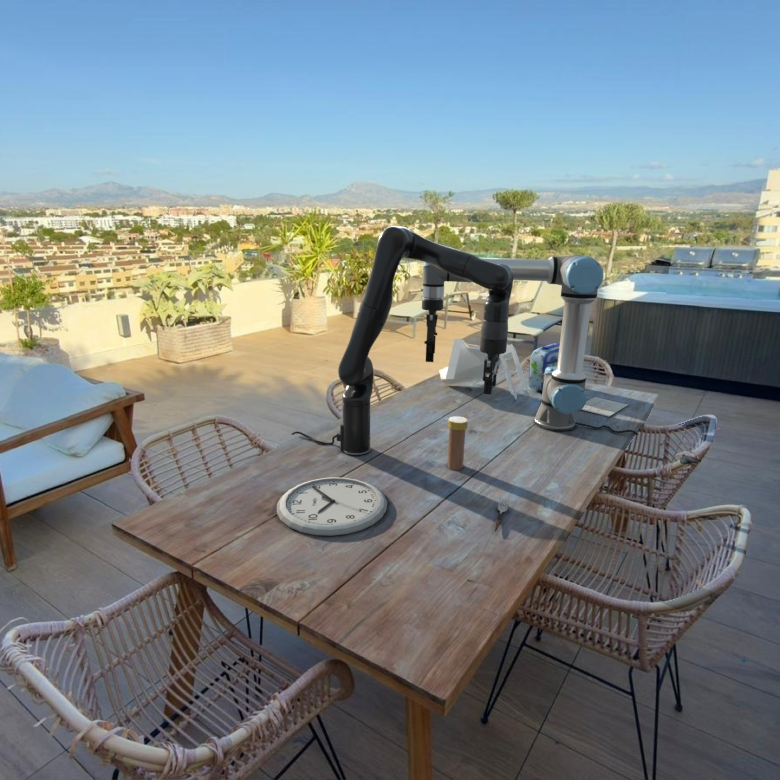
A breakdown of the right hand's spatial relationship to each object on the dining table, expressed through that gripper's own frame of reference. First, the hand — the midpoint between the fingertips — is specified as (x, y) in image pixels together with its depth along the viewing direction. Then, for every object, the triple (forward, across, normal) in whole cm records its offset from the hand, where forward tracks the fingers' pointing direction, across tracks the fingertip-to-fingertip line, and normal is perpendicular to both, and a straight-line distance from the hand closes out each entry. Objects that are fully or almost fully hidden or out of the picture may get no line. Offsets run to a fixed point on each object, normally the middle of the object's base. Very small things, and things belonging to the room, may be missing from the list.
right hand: (430, 357), depth 190 cm
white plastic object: (+28, -50, +22) cm, 61 cm away
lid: (+12, +31, +10) cm, 35 cm away
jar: (+28, +31, +10) cm, 43 cm away
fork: (+28, +61, +22) cm, 70 cm away
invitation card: (+28, -38, +73) cm, 87 cm away
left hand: (0, +35, +19) cm, 40 cm away
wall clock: (+28, +61, -23) cm, 71 cm away
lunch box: (+28, -63, +55) cm, 89 cm away
